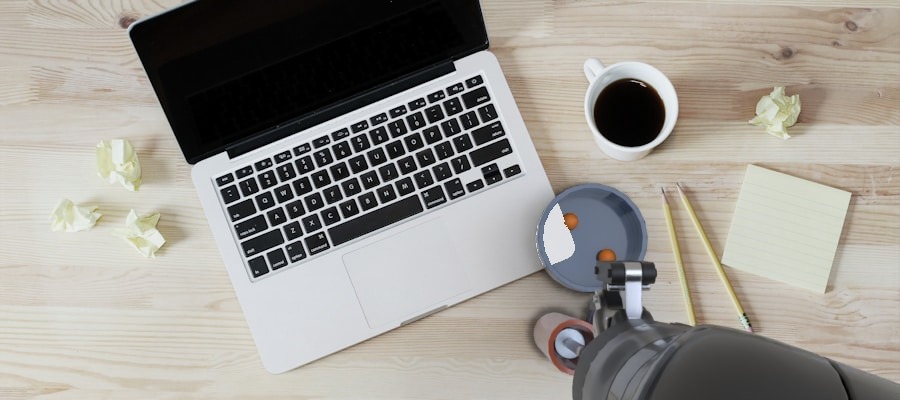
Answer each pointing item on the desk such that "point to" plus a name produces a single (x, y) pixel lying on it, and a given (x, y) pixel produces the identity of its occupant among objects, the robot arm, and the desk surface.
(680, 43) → the desk surface
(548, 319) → the crock
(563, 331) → the ladle
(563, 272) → the bowl
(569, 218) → the bead
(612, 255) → the bead
